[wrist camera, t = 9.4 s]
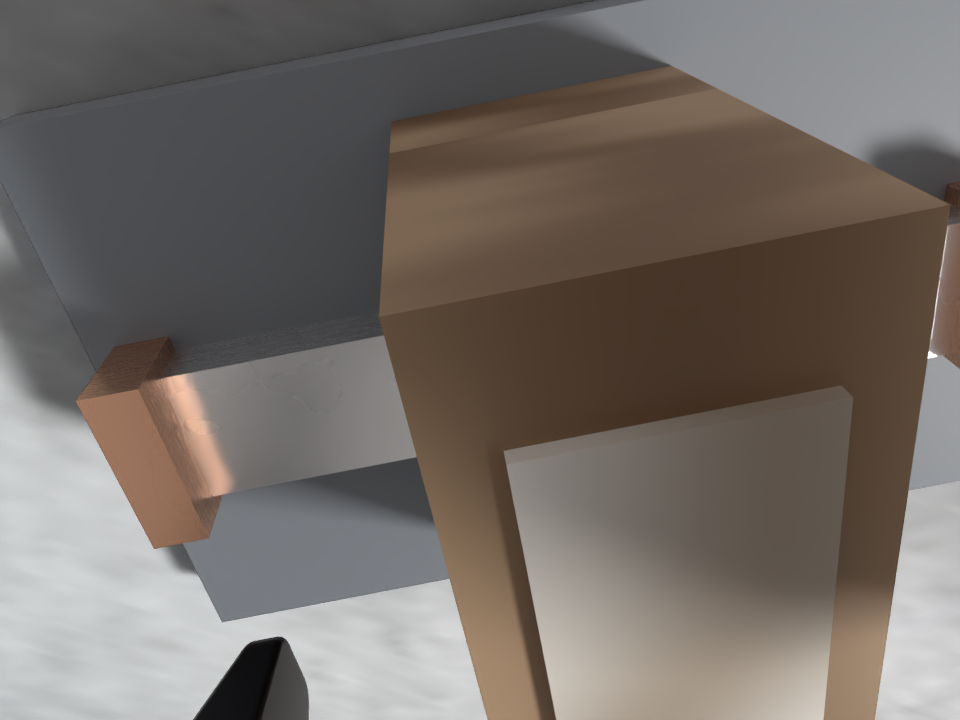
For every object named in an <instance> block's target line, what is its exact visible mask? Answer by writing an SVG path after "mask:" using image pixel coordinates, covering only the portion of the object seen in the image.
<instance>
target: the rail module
mask: <svg viewBox="0 0 960 720" xmlns="http://www.w3.org/2000/svg"><path fill="white" fill-rule="evenodd" d="M949 212H950V204H948V203H946V202H944V201H942V200H940V199H938V198H936V197H934V196H932V195H930V194H928V193H926V192H924V191H922V190H920V189H918V188H916V187H914V186H912V185H910V184H908V183H906V182H904V181H902V180H900V179H898V178H896V177H894V176H892V175H890V174H888V173H886V172H884V171H882V170H880V169H878V168H876V167H874V166H872V165H870V164H868V163H866V162H864V161H862V160H860V159H858V158H856V157H854V156H852V155H850V154H848V153H846V152H844V151H842V150H840V149H837V148H835V147H833V146H831V145H829V144H827V143H825V142H823V141H821V140H819V139H817V138H815V137H813V136H811V135H809V134H807V133H805V132H803V131H801V130H799V129H797V128H795V127H793V126H791V125H789V124H787V123H785V122H783V121H781V120H779V119H777V118H775V117H773V116H771V115H769V114H767V113H765V112H763V111H761V110H759V109H757V108H755V107H753V106H751V105H749V104H747V103H745V102H743V101H741V100H739V99H737V98H735V97H733V96H731V95H729V94H727V93H725V92H723V91H721V90H719V89H717V88H715V87H713V86H711V85H709V84H707V83H705V82H703V81H701V80H699V79H697V78H695V77H693V76H691V75H689V74H687V73H685V72H683V71H681V70H679V69H677V68H675V67H673V66H668V67H663V68H658V69H652V70H647V71H642V72H637V73H632V74H627V75H622V76H617V77H612V78H607V79H602V80H597V81H592V82H587V83H582V84H577V85H572V86H567V87H562V88H557V89H552V90H547V91H542V92H537V93H531V94H526V95H521V96H516V97H511V98H506V99H501V100H496V101H491V102H486V103H481V104H476V105H471V106H466V107H461V108H456V109H451V110H446V111H441V112H436V113H431V114H426V115H421V116H416V117H410V118H405V119H400V120H395V121H391V136H390V152H389V167H388V183H387V199H386V214H385V230H384V245H383V261H382V276H381V292H380V308H379V319H380V323H381V326H382V330H383V334H384V338H385V341H386V345H387V349H388V352H389V356H390V360H391V363H392V367H393V371H394V375H395V378H396V382H397V386H398V389H399V393H400V397H401V400H402V404H403V408H404V412H405V415H406V419H407V423H408V426H409V430H410V434H411V437H412V441H413V445H414V449H415V452H416V456H417V460H418V463H419V467H420V471H421V474H422V478H423V482H424V486H425V489H426V493H427V497H428V500H429V504H430V508H431V511H432V515H433V519H434V523H435V526H436V530H437V534H438V537H439V541H440V545H441V548H442V552H443V556H444V560H445V563H446V567H447V571H448V574H449V578H450V582H451V585H452V589H453V593H454V597H455V600H456V604H457V608H458V611H459V615H460V619H461V622H462V626H463V630H464V634H465V637H466V641H467V645H468V648H469V652H470V656H471V659H472V663H473V667H474V671H475V674H476V678H477V682H478V685H479V689H480V693H481V696H482V700H483V704H484V708H485V711H486V715H487V719H488V720H875V713H876V707H877V700H878V693H879V686H880V679H881V673H882V666H883V659H884V652H885V646H886V639H887V632H888V625H889V618H890V612H891V605H892V598H893V591H894V585H895V578H896V571H897V564H898V557H899V551H900V544H901V537H902V530H903V524H904V517H905V510H906V503H907V497H908V490H909V483H910V476H911V469H912V463H913V456H914V449H915V442H916V436H917V429H918V422H919V415H920V408H921V402H922V395H923V388H924V381H925V375H926V368H927V361H928V354H929V347H930V341H931V334H932V327H933V320H934V314H935V307H936V300H937V293H938V286H939V280H940V273H941V266H942V259H943V253H944V246H945V239H946V232H947V225H948V219H949Z"/></svg>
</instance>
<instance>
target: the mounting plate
mask: <svg viewBox="0 0 960 720" xmlns="http://www.w3.org/2000/svg"><path fill="white" fill-rule="evenodd" d="M668 66H673V67H675V68H677V69H679V70H681V71H683V72H685V73H687V74H689V75H691V76H693V77H695V78H697V79H699V80H701V81H703V82H705V83H707V84H709V85H711V86H713V87H715V88H717V89H719V90H721V91H723V92H725V93H727V94H729V95H731V96H733V97H735V98H737V99H739V100H741V101H743V102H745V103H747V104H749V105H751V106H753V107H755V108H757V109H759V110H761V111H763V112H765V113H767V114H769V115H771V116H773V117H775V118H777V119H779V120H781V121H783V122H785V123H787V124H789V125H791V126H793V127H795V128H797V129H799V130H801V131H803V132H805V133H807V134H809V135H811V136H813V137H815V138H817V139H819V140H821V141H823V142H825V143H827V144H829V145H831V146H833V147H835V148H837V149H840V150H842V151H844V152H846V153H848V154H850V155H852V156H854V157H856V158H858V159H860V160H862V161H864V162H866V163H868V164H870V165H872V166H874V167H876V168H878V169H880V170H882V171H884V172H886V173H888V174H890V175H892V176H894V177H896V178H898V179H900V180H902V181H904V182H906V183H908V184H910V185H912V186H914V187H916V188H918V189H920V190H922V191H924V192H926V193H928V194H930V195H932V196H934V197H936V198H938V199H940V200H942V201H944V198H945V191H946V184H950V183H955V182H960V0H595V1H590V2H585V3H580V4H575V5H570V6H565V7H560V8H555V9H550V10H545V11H540V12H535V13H530V14H525V15H520V16H514V17H509V18H504V19H499V20H494V21H489V22H484V23H479V24H474V25H469V26H464V27H459V28H454V29H449V30H444V31H439V32H434V33H429V34H424V35H419V36H414V37H409V38H404V39H398V40H393V41H388V42H383V43H378V44H373V45H368V46H363V47H358V48H353V49H348V50H343V51H338V52H333V53H328V54H323V55H318V56H313V57H308V58H303V59H298V60H293V61H288V62H282V63H277V64H272V65H267V66H262V67H257V68H252V69H247V70H242V71H237V72H232V73H227V74H222V75H217V76H212V77H207V78H202V79H197V80H192V81H187V82H182V83H177V84H172V85H166V86H161V87H156V88H151V89H146V90H141V91H136V92H131V93H126V94H121V95H116V96H111V97H106V98H101V99H96V100H91V101H86V102H81V103H76V104H71V105H66V106H61V107H56V108H50V109H45V110H40V111H35V112H30V113H25V114H20V115H15V116H11V117H9V118H7V119H5V120H2V121H0V181H1V183H2V185H3V187H4V189H5V191H6V193H7V195H8V197H9V199H10V201H11V203H12V205H13V207H14V209H15V211H16V213H17V215H18V217H19V219H20V221H21V223H22V225H23V227H24V229H25V231H26V233H27V235H28V237H29V239H30V241H31V243H32V245H33V247H34V249H35V251H36V253H37V255H38V257H39V259H40V261H41V263H42V265H43V267H44V269H45V271H46V273H47V275H48V277H49V279H50V281H51V283H52V285H53V287H54V289H55V291H56V293H57V295H58V297H59V299H60V301H61V303H62V305H63V307H64V309H65V311H66V313H67V315H68V317H69V319H70V321H71V323H72V325H73V327H74V329H75V331H76V333H77V335H78V336H79V338H80V340H81V342H82V344H83V346H84V348H85V350H86V352H87V354H88V356H89V358H90V360H91V362H92V364H93V366H94V368H95V370H96V372H97V370H98V369H99V367H100V366H101V364H102V363H103V362H104V360H105V359H106V357H107V356H108V354H109V353H110V352H111V350H112V349H113V347H115V346H120V345H126V344H131V343H136V342H141V341H146V340H151V339H156V338H161V337H166V336H169V338H170V340H171V342H172V344H173V347H174V349H175V350H180V349H185V348H190V347H196V346H201V345H206V344H211V343H216V342H221V341H226V340H231V339H237V338H242V337H247V336H252V335H257V334H262V333H267V332H272V331H278V330H283V329H288V328H293V327H298V326H303V325H308V324H313V323H319V322H324V321H329V320H334V319H339V318H344V317H349V316H354V315H360V314H365V313H370V312H375V311H379V308H380V292H381V276H382V261H383V245H384V230H385V214H386V199H387V183H388V167H389V152H390V136H391V121H395V120H400V119H405V118H410V117H416V116H421V115H426V114H431V113H436V112H441V111H446V110H451V109H456V108H461V107H466V106H471V105H476V104H481V103H486V102H491V101H496V100H501V99H506V98H511V97H516V96H521V95H526V94H531V93H537V92H542V91H547V90H552V89H557V88H562V87H567V86H572V85H577V84H582V83H587V82H592V81H597V80H602V79H607V78H612V77H617V76H622V75H627V74H632V73H637V72H642V71H647V70H652V69H658V68H663V67H668ZM956 481H960V369H959V368H958V367H957V366H955V365H954V364H953V363H951V362H950V361H949V360H948V359H946V358H945V357H944V356H943V355H942V356H937V357H932V358H928V361H927V368H926V375H925V381H924V388H923V395H922V402H921V408H920V415H919V422H918V429H917V436H916V442H915V449H914V456H913V463H912V469H911V476H910V483H909V490H914V489H919V488H924V487H930V486H935V485H940V484H945V483H951V482H956ZM909 490H908V491H909ZM183 545H184V547H185V549H186V551H187V553H188V555H189V557H190V559H191V561H192V563H193V565H194V567H195V569H196V571H197V573H198V575H199V577H200V579H201V581H202V583H203V585H204V587H205V589H206V591H207V593H208V595H209V597H210V599H211V601H212V603H213V605H214V607H215V609H216V611H217V613H218V615H219V617H220V619H221V621H222V622H226V621H231V620H236V619H241V618H247V617H252V616H257V615H262V614H267V613H273V612H278V611H283V610H288V609H294V608H299V607H304V606H309V605H314V604H320V603H325V602H330V601H335V600H340V599H346V598H351V597H356V596H361V595H367V594H372V593H377V592H382V591H387V590H393V589H398V588H403V587H408V586H413V585H419V584H424V583H429V582H434V581H440V580H445V579H450V578H449V574H448V571H447V567H446V563H445V560H444V556H443V552H442V548H441V545H440V541H439V537H438V534H437V530H436V526H435V523H434V519H433V515H432V511H431V508H430V504H429V500H428V497H427V493H426V489H425V486H424V482H423V478H422V474H421V471H420V467H419V463H418V460H417V457H415V458H409V459H404V460H399V461H394V462H389V463H384V464H378V465H373V466H368V467H363V468H358V469H353V470H347V471H342V472H337V473H332V474H327V475H322V476H316V477H311V478H306V479H301V480H296V481H291V482H285V483H280V484H275V485H270V486H265V487H259V488H254V489H249V490H244V491H239V492H234V493H228V494H223V496H222V499H221V503H220V506H219V509H218V512H217V515H216V518H215V521H214V524H213V527H212V531H211V534H210V537H209V538H208V539H203V540H198V541H193V542H188V543H183Z"/></svg>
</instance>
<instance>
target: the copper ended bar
mask: <svg viewBox="0 0 960 720" xmlns="http://www.w3.org/2000/svg"><path fill="white" fill-rule="evenodd" d="M944 202H946V203H948V204H950V212H949V219H948V225H947V232H946V239H945V246H944V253H943V259H942V266H941V273H940V280H939V286H938V293H937V300H936V307H935V314H934V320H933V327H932V334H931V341H930V347H929V354H928V358H932V357H937V356H942V355H943V356H944V357H945V358H946V359H948V360H949V361H950V362H951V363H953V364H954V365H955V366H957V367H958V368H959V369H960V182H955V183H950V184H946V191H945V198H944ZM76 403H77V405H78V407H79V408H80V410H81V412H82V414H83V416H84V418H85V420H86V422H87V423H88V425H89V427H90V429H91V431H92V433H93V435H94V437H95V439H96V440H97V442H98V444H99V446H100V448H101V450H102V452H103V454H104V455H105V457H106V459H107V461H108V463H109V465H110V467H111V469H112V471H113V472H114V474H115V476H116V478H117V480H118V482H119V484H120V486H121V487H122V489H123V491H124V493H125V495H126V497H127V499H128V501H129V503H130V504H131V506H132V508H133V510H134V512H135V514H136V516H137V518H138V520H139V521H140V523H141V525H142V527H143V529H144V531H145V533H146V535H147V536H148V538H149V540H150V542H151V544H152V546H153V548H154V549H156V548H162V547H167V546H172V545H177V544H182V543H188V542H193V541H198V540H203V539H208V538H209V537H210V534H211V531H212V527H213V524H214V521H215V518H216V515H217V512H218V509H219V506H220V503H221V499H222V496H223V494H228V493H234V492H239V491H244V490H249V489H254V488H259V487H265V486H270V485H275V484H280V483H285V482H291V481H296V480H301V479H306V478H311V477H316V476H322V475H327V474H332V473H337V472H342V471H347V470H353V469H358V468H363V467H368V466H373V465H378V464H384V463H389V462H394V461H399V460H404V459H409V458H415V457H417V456H416V452H415V449H414V445H413V441H412V437H411V434H410V430H409V426H408V423H407V419H406V415H405V412H404V408H403V404H402V400H401V397H400V393H399V389H398V386H397V382H396V378H395V375H394V371H393V367H392V363H391V360H390V356H389V352H388V349H387V345H386V341H385V338H384V334H383V330H382V326H381V323H380V319H379V311H375V312H370V313H365V314H360V315H354V316H349V317H344V318H339V319H334V320H329V321H324V322H319V323H313V324H308V325H303V326H298V327H293V328H288V329H283V330H278V331H272V332H267V333H262V334H257V335H252V336H247V337H242V338H237V339H231V340H226V341H221V342H216V343H211V344H206V345H201V346H196V347H190V348H185V349H180V350H175V349H174V347H173V344H172V342H171V340H170V338H169V336H166V337H161V338H156V339H151V340H146V341H141V342H136V343H131V344H126V345H120V346H115V347H113V349H112V350H111V352H110V353H109V354H108V356H107V357H106V359H105V360H104V362H103V363H102V364H101V366H100V367H99V369H98V370H97V372H96V373H95V374H94V376H93V377H92V379H91V380H90V382H89V383H88V384H87V386H86V387H85V389H84V390H83V392H82V393H81V394H80V396H79V397H78V399H77V400H76Z"/></svg>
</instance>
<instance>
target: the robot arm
mask: <svg viewBox="0 0 960 720" xmlns="http://www.w3.org/2000/svg"><path fill="white" fill-rule="evenodd" d="M193 720H309V697H308V689H307V685H306V681H305V678H304V676H303V674H302V672H301V670H300V667H299V665H298V663H297V661H296V658H295V656H294V654H293V652H292V650H291V647H290V645H289V643H288V642H287V640H286V639H285V638H283V637H274V638H268V639H263V640H258V641H253V642H251V643H249V644H248V645H247V646H245V647H244V649H243V650H242V651H241V653H240V654H239V655H238V657H237V658H236V660H235V661H234V663H233V664H232V665H231V667H230V668H229V670H228V671H227V672H226V674H225V675H224V677H223V678H222V680H221V681H220V682H219V684H218V685H217V687H216V688H215V689H214V691H213V692H212V694H211V695H210V696H209V698H208V699H207V701H206V702H205V704H204V705H203V706H202V708H201V709H200V711H199V712H198V713H197V715H196V716H195V718H194V719H193Z"/></svg>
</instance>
